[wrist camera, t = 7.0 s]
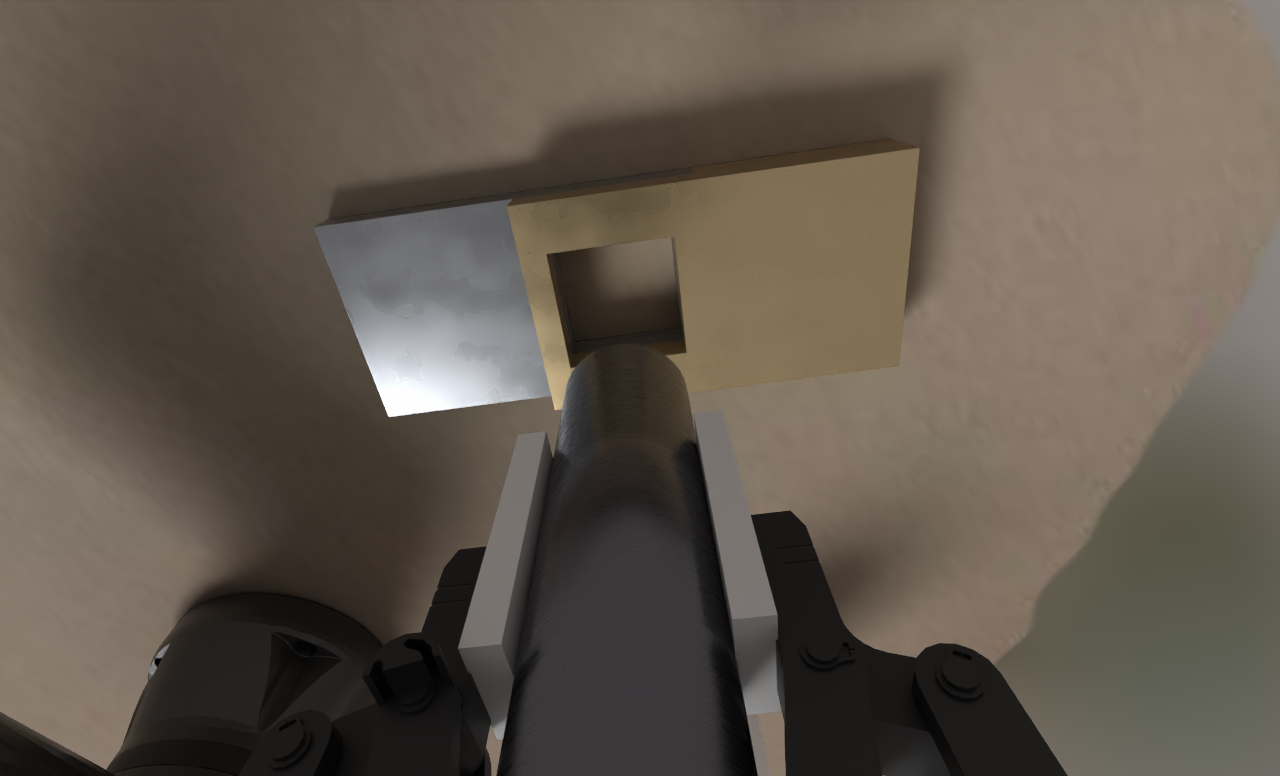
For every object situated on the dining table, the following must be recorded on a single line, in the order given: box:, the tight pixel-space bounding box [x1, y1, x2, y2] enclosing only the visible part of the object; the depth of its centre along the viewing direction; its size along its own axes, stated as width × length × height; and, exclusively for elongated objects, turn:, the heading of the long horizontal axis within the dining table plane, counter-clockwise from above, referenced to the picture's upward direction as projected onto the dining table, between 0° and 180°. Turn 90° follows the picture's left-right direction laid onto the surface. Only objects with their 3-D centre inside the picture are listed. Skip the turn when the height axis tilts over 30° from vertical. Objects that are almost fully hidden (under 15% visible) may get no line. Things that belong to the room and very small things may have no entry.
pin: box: [496, 344, 758, 776], centre depth 13 cm, size 4×4×14 cm
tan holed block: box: [313, 139, 920, 417], centre depth 28 cm, size 26×10×3 cm, turn 97°
